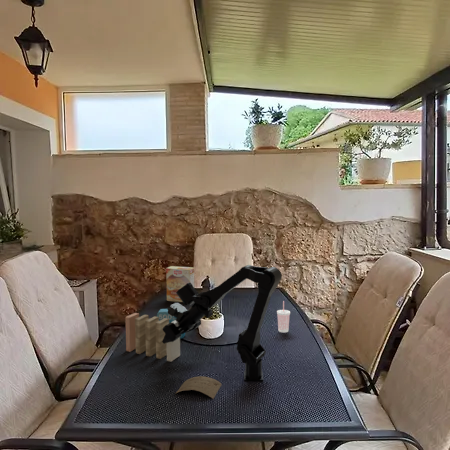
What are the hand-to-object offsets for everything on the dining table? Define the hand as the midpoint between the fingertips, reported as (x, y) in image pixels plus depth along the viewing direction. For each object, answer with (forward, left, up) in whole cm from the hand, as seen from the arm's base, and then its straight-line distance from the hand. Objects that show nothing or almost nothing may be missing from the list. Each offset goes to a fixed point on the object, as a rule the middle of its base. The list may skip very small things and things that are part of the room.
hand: (170, 338), depth 151 cm
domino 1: (+6, +12, -8) cm, 16 cm away
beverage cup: (+30, -47, -8) cm, 56 cm away
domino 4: (-1, -1, -8) cm, 8 cm away
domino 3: (+2, +3, -8) cm, 8 cm away
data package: (+21, +3, -8) cm, 23 cm away
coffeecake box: (+78, +8, -8) cm, 79 cm away
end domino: (+8, +17, -8) cm, 20 cm away
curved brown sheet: (-24, -14, -8) cm, 29 cm away
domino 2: (+4, +8, -8) cm, 11 cm away
